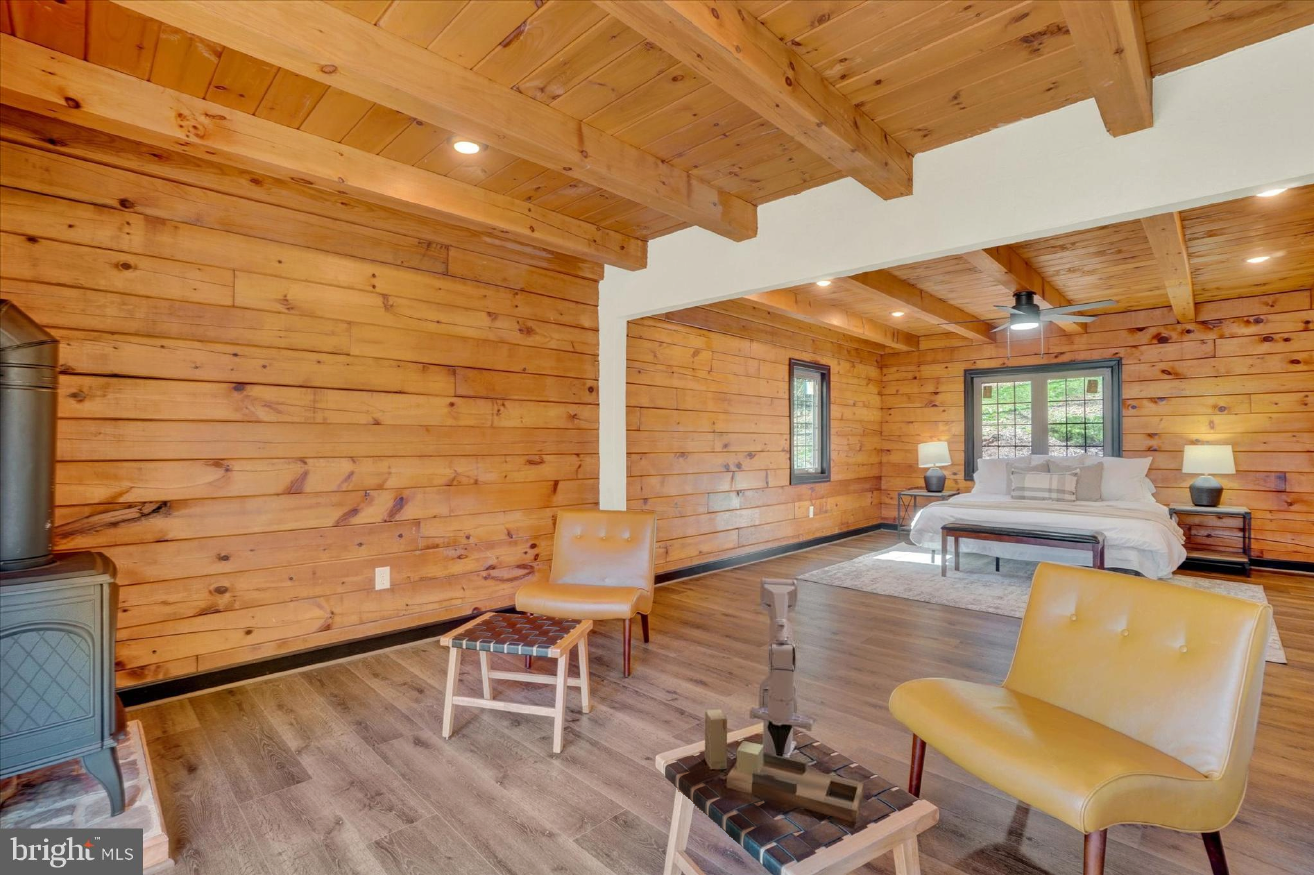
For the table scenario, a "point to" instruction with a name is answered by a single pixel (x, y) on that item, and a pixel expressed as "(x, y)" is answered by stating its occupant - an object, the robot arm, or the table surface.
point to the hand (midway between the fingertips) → (780, 754)
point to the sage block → (749, 757)
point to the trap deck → (800, 787)
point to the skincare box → (716, 739)
